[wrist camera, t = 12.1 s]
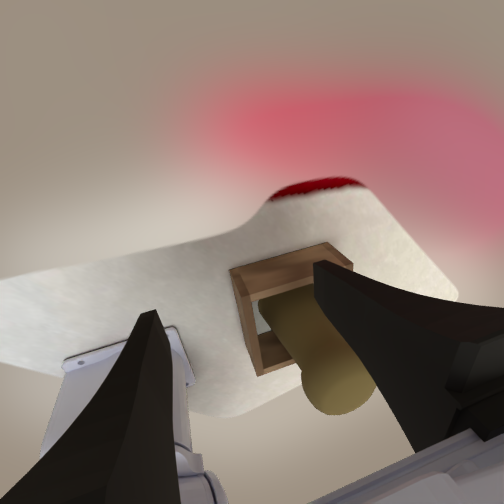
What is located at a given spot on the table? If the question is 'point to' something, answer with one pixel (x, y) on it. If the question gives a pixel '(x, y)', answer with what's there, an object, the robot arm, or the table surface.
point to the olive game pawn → (318, 351)
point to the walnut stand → (271, 283)
